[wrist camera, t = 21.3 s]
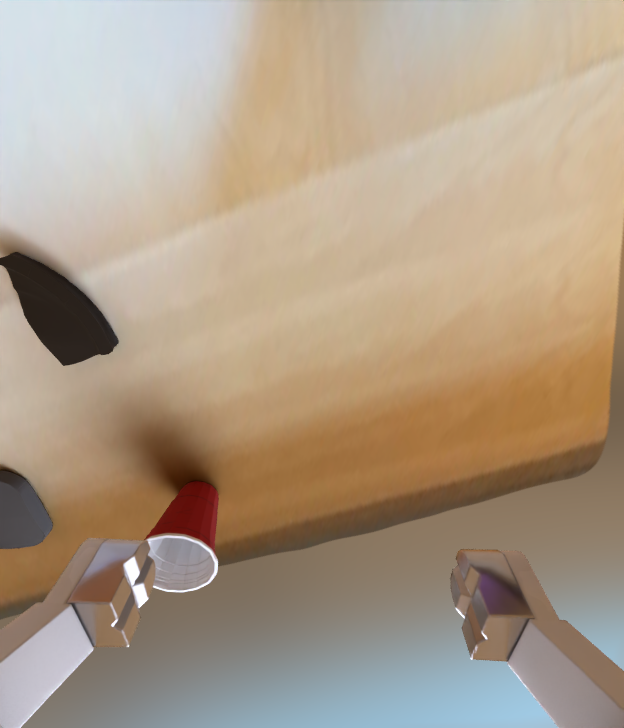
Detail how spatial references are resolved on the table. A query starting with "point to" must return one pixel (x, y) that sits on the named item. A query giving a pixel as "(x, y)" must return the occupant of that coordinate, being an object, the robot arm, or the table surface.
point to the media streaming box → (21, 513)
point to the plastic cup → (186, 540)
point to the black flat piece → (59, 311)
